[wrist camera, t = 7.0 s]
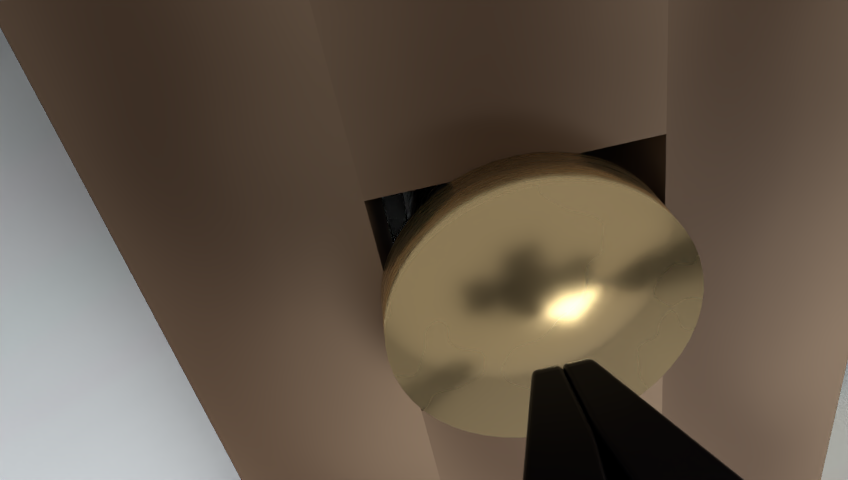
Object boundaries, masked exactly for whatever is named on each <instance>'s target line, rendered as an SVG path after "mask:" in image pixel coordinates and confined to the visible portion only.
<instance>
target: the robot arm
mask: <svg viewBox="0 0 848 480" xmlns="http://www.w3.org/2000/svg"><path fill="white" fill-rule="evenodd" d="M523 480H744V479H743V478H742V477H740V476H739V475H738V474H737V473H735V472H734V471H733V470H731V469H730V468H729V467H728V466H726V465H725V464H724V463H723V462H721V461H720V460H719V459H718V458H716V457H715V456H714V455H713V454H711V453H710V452H709V451H708V450H706V449H705V448H704V447H703V446H701V445H700V444H699V443H698V442H696V441H695V440H694V439H692V438H691V437H690V436H689V435H687V434H686V433H685V432H684V431H682V430H681V429H680V428H679V427H677V426H676V425H675V424H674V423H672V422H671V421H670V420H669V419H667V418H666V417H665V416H664V415H662V414H661V413H660V412H658V411H657V410H656V409H655V408H653V407H652V406H651V405H650V404H648V403H647V402H646V401H645V400H643V399H642V398H641V397H640V396H638V395H637V394H636V393H635V392H633V391H632V390H631V389H630V388H628V387H627V386H626V385H625V384H623V383H622V382H621V381H619V380H618V379H617V378H616V377H614V376H613V375H612V374H611V373H609V372H608V371H607V370H606V369H604V368H603V367H602V366H601V365H599V364H598V363H597V362H596V361H594V360H592V359H583V360H579V361H574V362H570V363H566V364H565V365H564V366H563V367H562V368H561V367H560V366H558V365H557V366H551V367H547V368H542V369H538V370H535V371H534V372H533V373H532V378H531V389H530V400H529V412H528V423H527V435H526V446H525V458H524V469H523Z"/></svg>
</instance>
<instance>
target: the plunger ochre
mask: <svg viewBox="0 0 848 480" xmlns="http://www.w3.org/2000/svg"><path fill="white" fill-rule="evenodd" d="M403 196H404V202H405V207H406V212H407V218H408V221H407V222H406V224H405V225H404V227H403V228H402V230H401V232H400V233H399V235H398V236H397V238H396V239H395V242H394V244H393V246H392V248H391V250H390V252H389V254H388V257H387V261H386V264H385V267H384V271H383V276H382V284H381V307H382V317H383V327H384V337H385V346H386V351H387V356H388V361H389V364H390V366H391V369H392V371H393V374H394V376H395V378H396V379H397V381H398V383H399V384H400V386H401V388H402V389H403V390H404V392H405V393H406V394H407V395H408V396H409V397H410V399H411V400H412V401H413V402H414V403H416V404H417V405H418V406H419V407H420V408H421V409H423V410H424V411H425V412H427V413H428V414H430V415H431V416H433V417H434V418H436V419H438V420H439V421H442V422H444V423H446V424H448V425H450V426H452V427H455V428H458V429H461V430H464V431H467V432H471V433H476V434H481V435H485V436H494V437H509V438H522V437H526V435H527V423H528V412H529V400H530V389H531V378H532V373H533V372H534V371H535V370H538V369H542V368H547V367H551V366H557V365H558V366H560V367H561V368H562V367H563V366H564V365H565V364H566V363H570V362H574V361H579V360H583V359H592V360H594V361H596V362H597V363H598V364H599V365H601V366H602V367H603V368H604V369H606V370H607V371H608V372H609V373H611V374H612V375H613V376H614V377H616V378H617V379H618V380H619V381H621V382H622V383H623V384H625V385H626V386H627V387H628V388H630V389H631V390H632V391H633V392H635V393H636V394H637V395H638V396H640V395H642V394H643V393H644V392H645V391H646V390H648V389H649V388H650V387H651V386H652V385H654V384H655V383H656V382H657V381H658V380H659V379H660V378H661V377H662V376H663V375H664V374H665V373H666V372H667V371H668V370H669V369H670V367H671V366H672V365H673V364H674V362H675V361H676V360H677V358H678V357H679V356H680V355H681V353H682V351H683V350H684V348H685V346H686V345H687V343H688V342H689V340H690V338H691V336H692V333H693V331H694V329H695V327H696V324H697V321H698V318H699V315H700V311H701V308H702V301H703V293H704V279H703V271H702V266H701V261H700V257H699V255H698V252H697V250H696V247H695V245H694V243H693V241H692V240H691V238H690V236H689V235H688V233H687V232H686V230H685V229H684V227H683V226H682V225H681V224H680V223H679V222H678V220H677V219H676V218H675V217H674V216H673V214H672V213H671V212H670V211H669V210H668V209H667V207H666V206H665V205H664V204H663V203H662V202H661V200H660V199H659V198H658V197H657V196H656V195H655V193H654V192H653V191H652V190H651V189H650V188H649V187H648V186H647V185H646V184H645V183H644V182H643V181H641V180H640V179H639V178H638V177H636V176H635V175H634V174H633V173H631V172H629V171H627V170H626V169H624V168H622V167H620V166H618V165H617V164H614V163H612V162H609V161H606V160H604V159H601V158H598V157H594V156H590V155H585V154H581V153H572V152H560V151H550V152H533V153H527V154H521V155H514V156H510V157H507V158H503V159H500V160H496V161H493V162H490V163H488V164H485V165H483V166H481V167H478V168H476V169H473V170H471V171H469V172H467V173H466V174H464V175H462V176H460V177H458V178H457V179H455V180H453V181H451V182H448V183H443V184H439V185H434V186H430V187H425V188H421V189H416V190H412V191H407V192H403Z"/></svg>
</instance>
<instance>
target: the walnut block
mask: <svg viewBox="0 0 848 480" xmlns="http://www.w3.org/2000/svg"><path fill="white" fill-rule="evenodd" d="M0 28H1V30H2V31H3V33H4V35H5V37H6V39H7V41H8V43H9V45H10V46H11V48H12V50H13V52H14V54H15V56H16V58H17V60H18V61H19V63H20V65H21V67H22V69H23V71H24V73H25V75H26V76H27V78H28V80H29V82H30V84H31V86H32V88H33V90H34V91H35V93H36V95H37V97H38V99H39V101H40V103H41V105H42V106H43V108H44V110H45V112H46V114H47V116H48V118H49V120H50V121H51V123H52V125H53V127H54V129H55V131H56V133H57V135H58V137H59V138H60V140H61V142H62V144H63V146H64V148H65V150H66V152H67V153H68V155H69V157H70V159H71V161H72V163H73V165H74V167H75V168H76V170H77V172H78V174H79V176H80V178H81V180H82V182H83V183H84V185H85V187H86V189H87V191H88V193H89V195H90V197H91V198H92V200H93V202H94V204H95V206H96V208H97V210H98V212H99V213H100V215H101V217H102V219H103V221H104V223H105V225H106V227H107V228H108V230H109V232H110V234H111V236H112V238H113V240H114V242H115V244H116V245H117V247H118V249H119V251H120V253H121V255H122V257H123V259H124V260H125V262H126V264H127V266H128V268H129V270H130V272H131V274H132V275H133V277H134V279H135V281H136V283H137V285H138V287H139V289H140V290H141V292H142V294H143V296H144V298H145V300H146V302H147V304H148V305H149V307H150V309H151V311H152V313H153V315H154V317H155V319H156V320H157V322H158V324H159V326H160V328H161V330H162V332H163V334H164V335H165V337H166V339H167V341H168V343H169V345H170V347H171V349H172V351H173V352H174V354H175V356H176V358H177V360H178V362H179V364H180V366H181V367H182V369H183V371H184V373H185V375H186V377H187V379H188V381H189V382H190V384H191V386H192V388H193V390H194V392H195V394H196V396H197V397H198V399H199V401H200V403H201V405H202V407H203V409H204V411H205V412H206V414H207V416H208V418H209V420H210V422H211V424H212V426H213V427H214V429H215V431H216V433H217V435H218V437H219V439H220V441H221V442H222V444H223V446H224V448H225V450H226V452H227V454H228V456H229V457H230V459H231V461H232V463H233V465H234V467H235V469H236V471H237V473H238V474H239V476H240V478H241V480H523V469H524V458H525V446H526V437H522V438H509V437H494V436H485V435H481V434H476V433H471V432H467V431H464V430H461V429H458V428H455V427H452V426H450V425H448V424H446V423H444V422H442V421H439V420H438V419H436V418H434V417H433V416H431V415H430V414H428V413H427V412H425V411H424V410H423V409H421V408H420V407H419V406H418V405H417V404H416V403H414V402H413V401H412V400H411V399H410V397H409V396H408V395H407V394H406V393H405V392H404V390H403V389H402V388H401V386H400V384H399V383H398V381H397V379H396V378H395V376H394V374H393V371H392V369H391V366H390V364H389V361H388V356H387V351H386V346H385V337H384V327H383V317H382V307H381V284H382V276H383V271H384V267H385V264H386V261H387V257H388V254H389V252H390V250H391V248H392V246H393V241H392V237H391V233H390V229H389V225H388V221H387V217H386V213H385V210H384V206H383V202H382V198H381V197H385V196H389V195H394V194H398V193H403V192H407V191H412V190H416V189H421V188H425V187H430V186H434V185H439V184H443V183H448V182H451V181H453V180H455V179H457V178H458V177H460V176H462V175H464V174H466V173H467V172H469V171H471V170H473V169H476V168H478V167H481V166H483V165H485V164H488V163H490V162H493V161H496V160H500V159H503V158H507V157H510V156H514V155H521V154H527V153H533V152H550V151H560V152H572V153H581V154H585V155H590V156H594V157H598V158H601V159H604V160H606V161H609V162H612V163H614V164H617V165H618V166H620V167H622V168H624V169H626V170H627V171H629V172H631V173H633V174H634V175H635V176H636V177H638V178H639V179H640V180H641V181H643V182H644V183H645V184H646V185H647V186H648V187H649V188H650V189H651V190H652V191H653V192H654V193H655V195H656V196H657V197H658V198H659V199H660V200H661V202H662V203H663V204H664V205H665V206H666V207H667V209H668V210H669V211H670V212H671V213H672V214H673V216H674V217H675V218H676V219H677V220H678V222H679V223H680V224H681V225H682V226H683V227H684V229H685V230H686V232H687V233H688V235H689V236H690V238H691V240H692V241H693V243H694V245H695V247H696V250H697V252H698V255H699V257H700V261H701V266H702V271H703V279H704V293H703V301H702V308H701V311H700V315H699V318H698V321H697V324H696V327H695V329H694V331H693V333H692V336H691V338H690V340H689V342H688V343H687V345H686V346H685V348H684V350H683V351H682V353H681V355H680V356H679V357H678V358H677V360H676V361H675V362H674V364H673V365H672V366H671V367H670V369H669V370H668V371H667V372H666V373H665V374H664V375H663V376H662V377H661V378H660V379H659V380H658V381H657V382H656V383H655V384H654V385H652V386H651V387H650V388H649V389H648V390H646V391H645V392H644V393H643V394H642V395H640V397H641V398H642V399H643V400H645V401H646V402H647V403H648V404H650V405H651V406H652V407H653V408H655V409H656V410H657V411H658V412H660V413H661V414H662V415H664V416H665V417H666V418H667V419H669V420H670V421H671V422H672V423H674V424H675V425H676V426H677V427H679V428H680V429H681V430H682V431H684V432H685V433H686V434H687V435H689V436H690V437H691V438H692V439H694V440H695V441H696V442H698V443H699V444H700V445H701V446H703V447H704V448H705V449H706V450H708V451H709V452H710V453H711V454H713V455H714V456H715V457H716V458H718V459H719V460H720V461H721V462H723V463H724V464H725V465H726V466H728V467H729V468H730V469H731V470H733V471H734V472H735V473H737V474H738V475H739V476H740V477H742V478H743V479H744V480H821V476H822V471H823V467H824V462H825V458H826V454H827V449H828V445H829V440H830V436H831V431H832V427H833V422H834V418H835V413H836V409H837V404H838V400H839V395H840V391H841V387H842V382H843V378H844V373H845V369H846V364H847V360H848V0H0Z"/></svg>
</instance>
